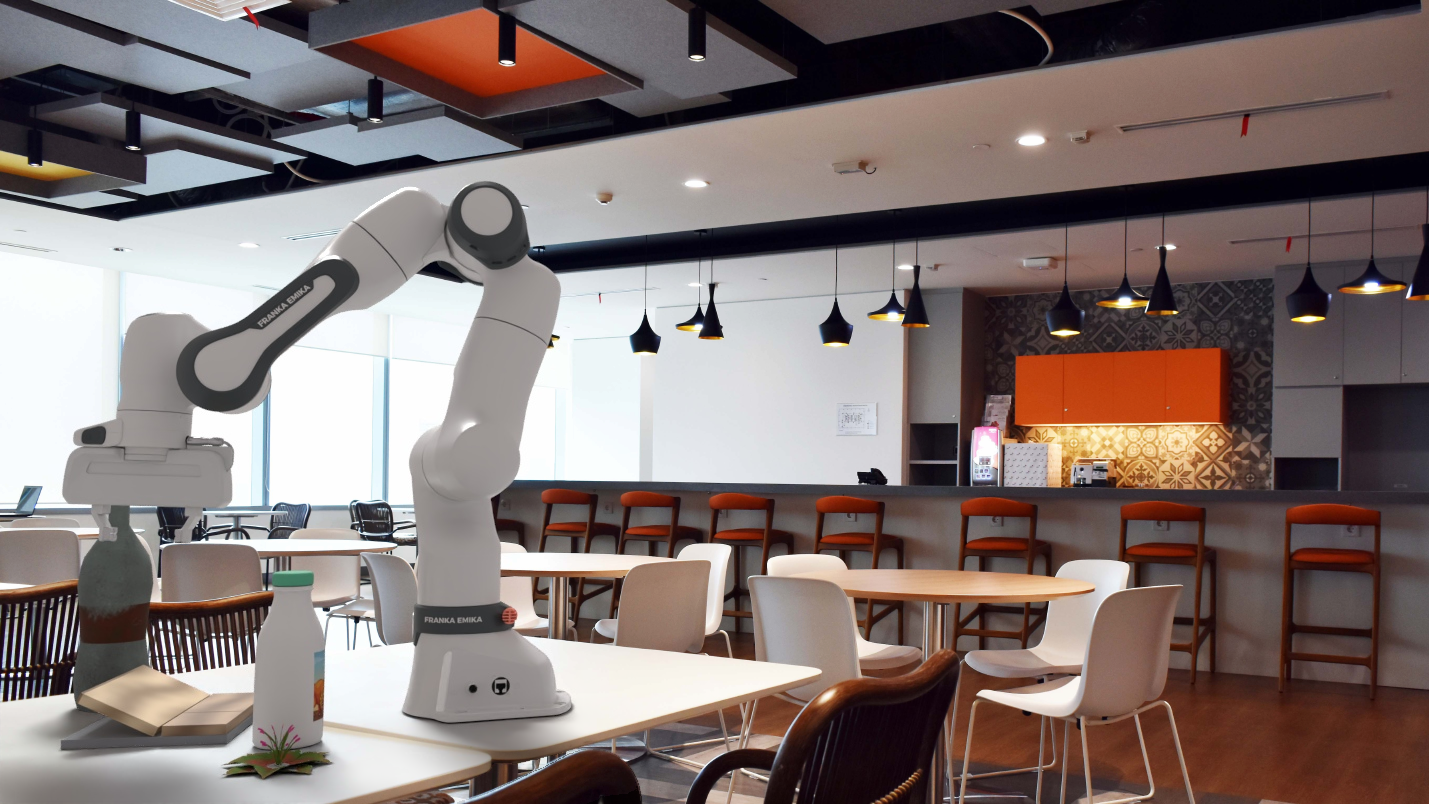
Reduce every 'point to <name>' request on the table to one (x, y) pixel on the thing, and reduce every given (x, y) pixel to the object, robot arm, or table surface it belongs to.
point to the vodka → (113, 607)
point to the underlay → (139, 736)
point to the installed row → (212, 715)
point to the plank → (142, 699)
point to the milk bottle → (290, 666)
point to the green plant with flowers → (276, 758)
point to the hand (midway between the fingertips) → (145, 542)
